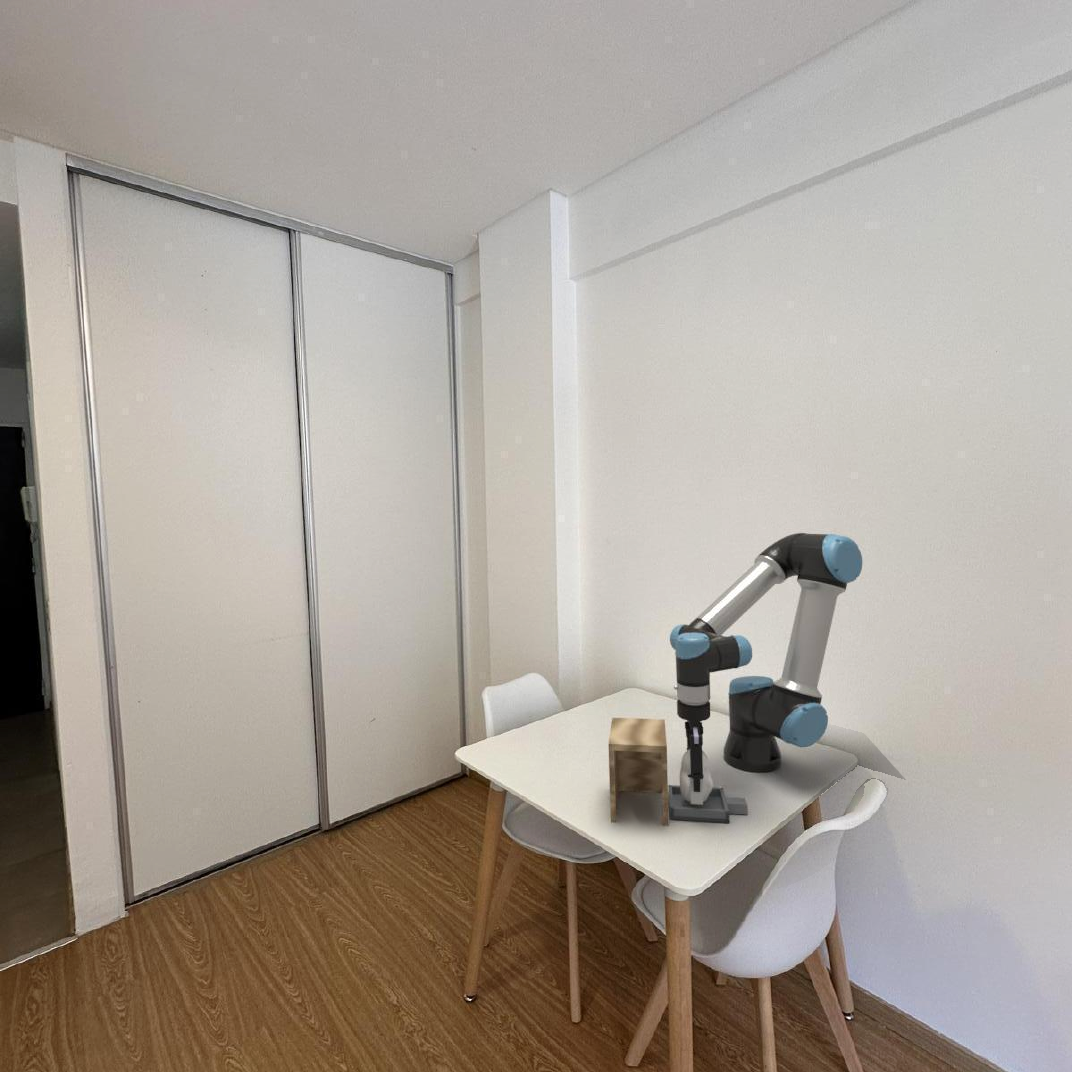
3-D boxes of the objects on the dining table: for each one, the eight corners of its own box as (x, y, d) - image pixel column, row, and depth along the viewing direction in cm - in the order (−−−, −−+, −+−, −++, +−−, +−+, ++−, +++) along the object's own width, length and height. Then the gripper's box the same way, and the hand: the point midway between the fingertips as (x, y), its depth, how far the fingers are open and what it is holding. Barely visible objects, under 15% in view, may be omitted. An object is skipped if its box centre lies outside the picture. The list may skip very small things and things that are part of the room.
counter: (666, 790, 150) (664, 719, 149) (668, 825, 134) (666, 746, 133) (614, 788, 152) (612, 717, 151) (610, 822, 137) (608, 743, 135)
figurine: (685, 806, 137) (684, 755, 136) (675, 790, 144) (674, 742, 144) (715, 804, 137) (714, 753, 136) (704, 787, 145) (703, 740, 144)
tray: (742, 799, 144) (742, 788, 144) (750, 824, 133) (750, 812, 133) (668, 795, 147) (668, 785, 147) (670, 819, 137) (670, 808, 136)
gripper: (674, 685, 150) (676, 773, 151) (679, 715, 130) (681, 816, 131) (705, 686, 149) (707, 774, 150) (715, 716, 128) (716, 818, 130)
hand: (695, 794), depth 141 cm, fingers closed on figurine, 8 cm apart
